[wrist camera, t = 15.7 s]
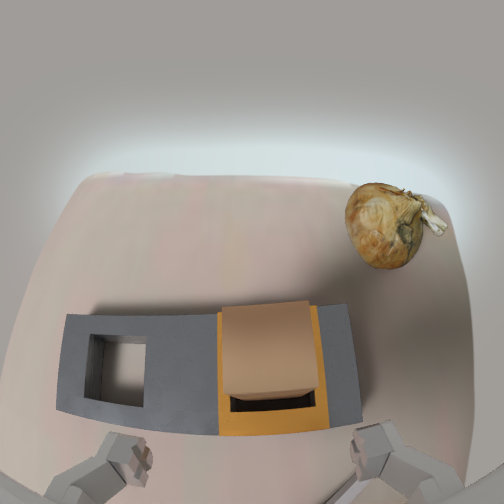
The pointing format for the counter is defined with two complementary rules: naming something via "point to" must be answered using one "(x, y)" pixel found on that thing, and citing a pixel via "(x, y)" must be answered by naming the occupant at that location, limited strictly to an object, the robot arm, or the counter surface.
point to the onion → (388, 224)
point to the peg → (268, 351)
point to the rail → (201, 376)
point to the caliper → (348, 491)
